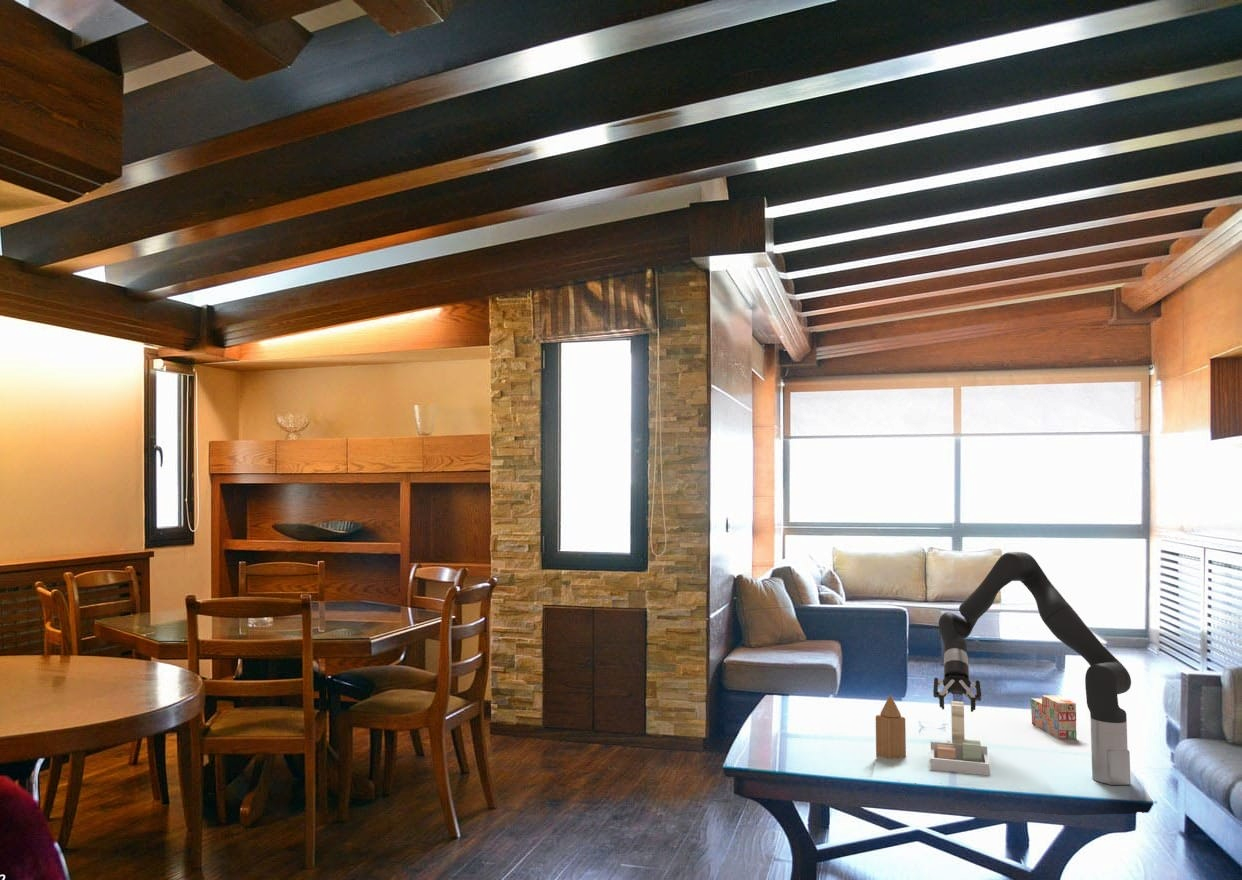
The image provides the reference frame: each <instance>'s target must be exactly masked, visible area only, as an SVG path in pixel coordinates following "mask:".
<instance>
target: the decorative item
mask: <svg viewBox="0 0 1242 880" xmlns="http://www.w3.org/2000/svg"><path fill="white" fill-rule="evenodd" d="M906 732H907V731H906V718H905V717H904V716H902V715H901V712H900V710H899V708H898V706H897V704H896V701H895V700H894V698H893V696H892V694H891V693H890V694H889V695H888V697H887V700H886V701H885V703H884V706H883V707H882V708H881V711H880V714H877V715H875V757H876V758H878V755H879V756H881V757H884V758H887V759H891V760H892V759H898V758H905V757H906V756H907V753H906V752H907V748H906V747H907V743H906V742H907V741H906V737H907V735H906V734H907V733H906Z"/></svg>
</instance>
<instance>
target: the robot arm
mask: <svg viewBox="0 0 1242 880" xmlns="http://www.w3.org/2000/svg"><path fill="white" fill-rule="evenodd" d="M1012 582H1021V583H1022V584H1023V585H1024V587H1026V589H1027V590H1028V591H1029V592H1030V594H1032V596H1033V598H1034V600H1035V603H1036V605H1037V610H1038V614H1039V616H1040V618H1041V621H1042V622H1043V623H1044V624H1045V626H1046V627H1047V628H1048V629H1049V630H1050V632H1051V633H1052V634H1053V635H1054V636H1055V638H1057V639H1058V640H1059V641H1060V642H1062V644H1064V645H1065V646H1067V647H1069V648H1070V649H1072V650H1073V651H1074V652H1075V653H1077V654H1079V656H1081V657H1082V658H1083V659H1084V660H1085V661H1086V662H1087V664H1089V667H1088V668H1087V669H1086V671H1085V679H1084V683H1085V684H1084V685H1085V698H1086V705H1087V709H1088V710H1089V714H1090V719H1089V720H1090V745H1091V746H1090V748H1091V751H1090V752H1091V778H1092V780H1095V782H1099V783H1103V784H1108V785H1110V786H1120V785H1121V786H1126V785H1127V786H1129V785H1131V784H1132V782H1131V781H1132V780H1131V779H1132V778H1131V754H1130V750H1129V749H1128V748H1129V747H1128V725H1127V724H1128V722H1127V719H1128V718H1127V712H1126V710H1124V709H1123V708H1121V707H1120V706H1119V699H1118V698H1119V697H1118V695H1121V694H1124V693H1127V692H1128V691H1129V690H1130V689H1131V685H1132V678H1131V676H1130V675H1131V674H1130V672H1128V669H1127V668H1126V667H1125V666H1124V665H1123V664H1122V662H1121V661H1119V659H1117V658H1116V657H1115V656H1114V655H1113V654H1112V652H1110V650H1109V649H1107V648H1106V647H1105V645H1103V644H1102V642H1101V641H1100V640H1099V639H1098V638H1097V637H1096V635H1095V634H1094V633H1093V632H1092V630H1091V629H1090V628H1089V627H1088V626H1087V625H1086V624H1085V622H1084V621H1083V620H1082V618H1081V617H1080V616H1079V614H1078V613H1077V612H1076V611H1075V609H1074V608H1073V606H1071V605H1070V603H1068V601H1067V600H1066V599H1065V598H1064V597H1063V596H1062V594H1061V593H1060V591H1058V589H1057V588H1056V587H1055V586H1054V584H1053V583H1052V582H1051V581H1050V579H1049V578H1048V576H1047V575H1046V574H1045V572H1044V571H1043V569H1042V568H1041V566H1040V565H1039V563H1038V562H1037V560H1036V559H1035V558H1034V557H1033V555H1031V554H1030V553H1028V552H1023V551H1009V552H1005V553H1003V554H1002V555H1001V556H1000V557H999V558H998V559H997V560H996V562H995V563H994V565H993V566H992V568H991V569H990V571H989V572H988V573H987V574H986V576H985V578H984V579H983V580H982V581H981V583H980V584H979V585H978V587H976V589H975V590H974V591H973V592H972V593H971V594H970V595H969V596H968V597H967V598H965V600H964V601H963V602H962V603H961V604H960V605H959V607H958V610H959V613H960V615H961V616H960V615H957V614H955V613H953V612H951V611H946V612H944V613H942V614H941V616H940V618H939V619H938V630H939V633H940V637H941V639H942V642H943V645H944V649H943V650H944V656H943V677H944V678H943V679H939V678H938V677H934V678H933V690H932V691H933V692H932V693H933V697H934V698H935V699H936V698H937V699H939V704H938V705H939V708H941V710H945V698H946V697H948V696H949V695H950V694H951V695H960V696H962V695H964V696H965V697H966V698H967V699H969V700H970V703H969V704H970V712H971V713H973V712H974V711H976V705H977V704H976V701H979V702H980V701H982V688H981V684H980V680H975V681H970V675H969V674H970V670H969V667H970V666H969V658H968V644H967V641H966V640H965V639H968V637H969V636H970V635H971V633H972V632H973V629H974V627H975V625H976V623H977V622H978V620H979V619H980V618H981V617H982V616H983V615H985V613H986V612H987V611H988V610H989V609H990V608H991V606H993V603H994V601H995V599H996V597H997V595H998V593H1000V591H1001V590H1002V589H1003V588H1005V586H1007V585H1008V584H1010V583H1012ZM942 685H943V689H942V690H941V691H939V688H940V687H941V686H942ZM971 687H973V689H974V690H975V693H976V694H975V693H973V691H972V690H971Z"/></svg>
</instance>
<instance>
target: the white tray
mask: <svg viewBox="0 0 1242 880" xmlns="http://www.w3.org/2000/svg"><path fill="white" fill-rule="evenodd" d="M938 744H942V745H953V746H955V750H956V760H950V759H940V758H938ZM929 759H930V770H937V771H944V772H945V771H947V772H955V773H963V774H964V773H965V774H966V773H967V774H976V775H986V776H990V775H991V774H990V761H989V760H990V759H989V756H988V746H987V745H981V762H971V761H963V757H962V744H957V743H952V742H951V739H950V738H947V739H946V741H945V742H944V741H936V740H935V741H934V740H933V741H932V740H930V757H929Z"/></svg>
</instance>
